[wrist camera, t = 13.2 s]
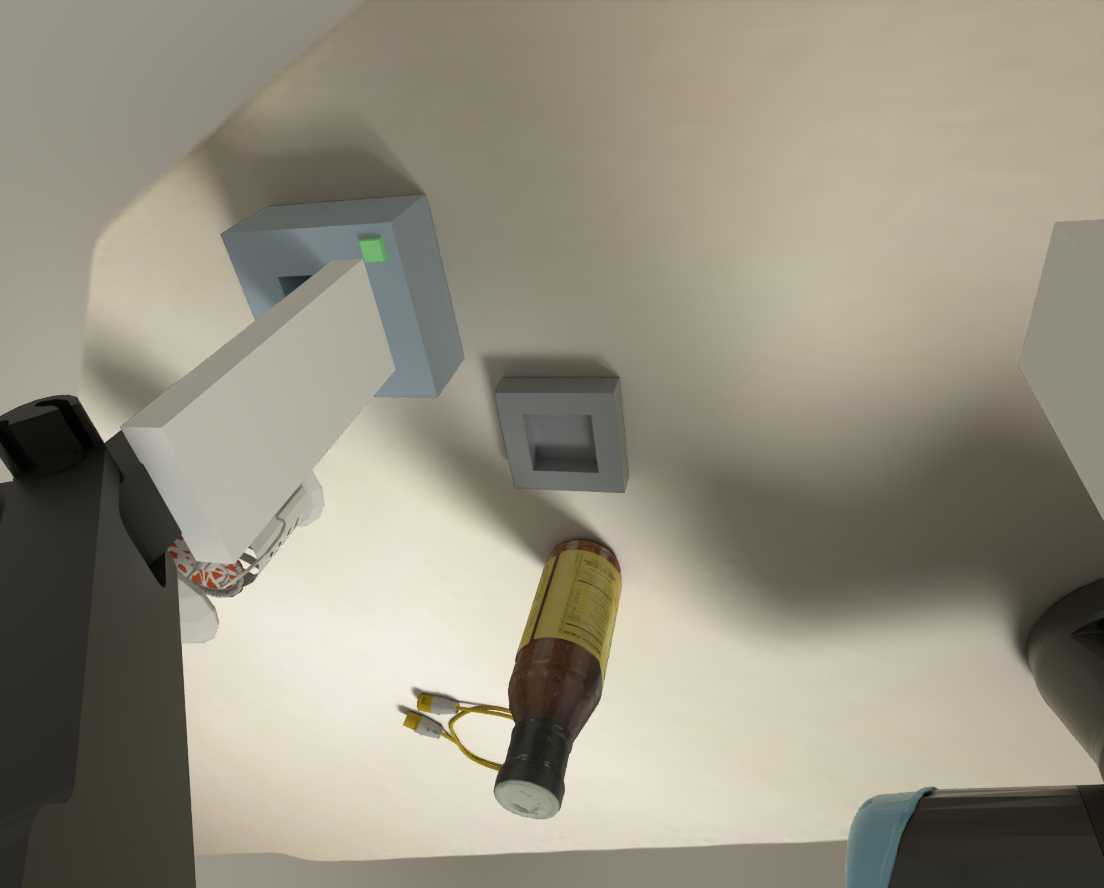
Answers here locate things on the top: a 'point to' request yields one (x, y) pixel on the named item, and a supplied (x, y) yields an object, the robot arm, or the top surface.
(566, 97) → the top surface
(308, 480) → the french press
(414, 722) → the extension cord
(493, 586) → the top surface
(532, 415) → the holster
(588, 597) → the sauce bottle
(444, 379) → the port
